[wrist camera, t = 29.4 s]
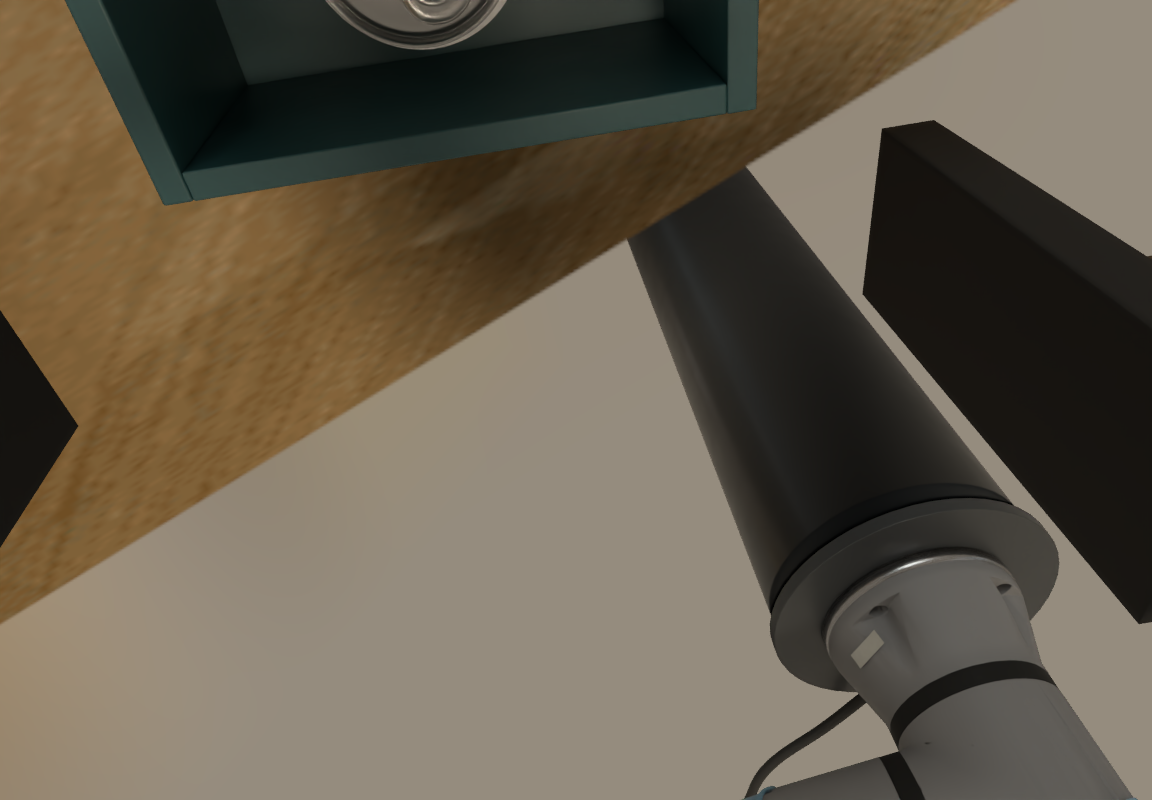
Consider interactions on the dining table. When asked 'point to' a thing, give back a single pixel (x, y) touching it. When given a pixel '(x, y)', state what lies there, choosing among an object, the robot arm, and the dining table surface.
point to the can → (418, 20)
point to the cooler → (399, 83)
